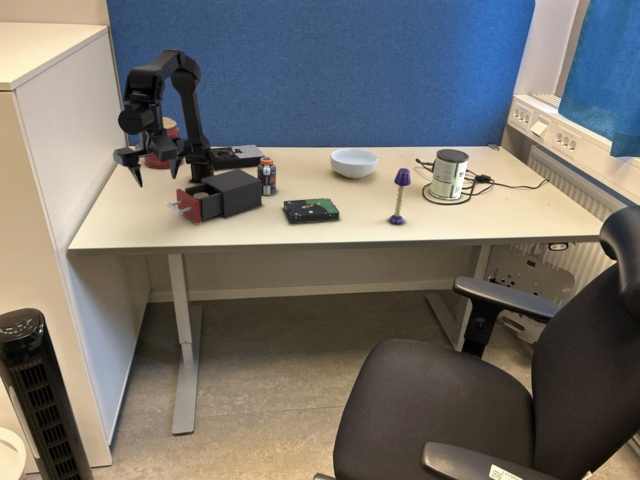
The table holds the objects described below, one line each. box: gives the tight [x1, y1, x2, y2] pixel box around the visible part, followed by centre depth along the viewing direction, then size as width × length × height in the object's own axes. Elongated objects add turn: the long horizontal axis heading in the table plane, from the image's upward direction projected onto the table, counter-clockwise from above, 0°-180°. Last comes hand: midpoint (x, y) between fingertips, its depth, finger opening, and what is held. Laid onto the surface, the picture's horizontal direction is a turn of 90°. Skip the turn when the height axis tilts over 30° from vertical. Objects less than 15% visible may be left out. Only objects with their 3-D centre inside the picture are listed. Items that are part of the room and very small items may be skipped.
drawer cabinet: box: [202, 168, 263, 219], centre depth 141 cm, size 13×11×8 cm
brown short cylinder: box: [193, 192, 209, 212], centre depth 134 cm, size 4×4×4 cm
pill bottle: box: [256, 156, 277, 196], centre depth 150 cm, size 6×6×11 cm
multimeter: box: [211, 144, 266, 171], centre depth 172 cm, size 13×19×5 cm
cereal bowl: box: [329, 148, 379, 179], centre depth 168 cm, size 17×17×7 cm
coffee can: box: [429, 148, 470, 201], centre depth 156 cm, size 10×10×14 cm
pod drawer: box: [166, 183, 223, 225], centre depth 134 cm, size 17×10×7 cm, turn 134°
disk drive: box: [283, 198, 340, 224], centre depth 140 cm, size 10×3×15 cm
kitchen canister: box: [143, 115, 183, 169], centre depth 165 cm, size 13×13×18 cm
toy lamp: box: [388, 167, 411, 226], centre depth 135 cm, size 5×5×17 cm
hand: (157, 182), depth 122 cm, fingers open, 9 cm apart
